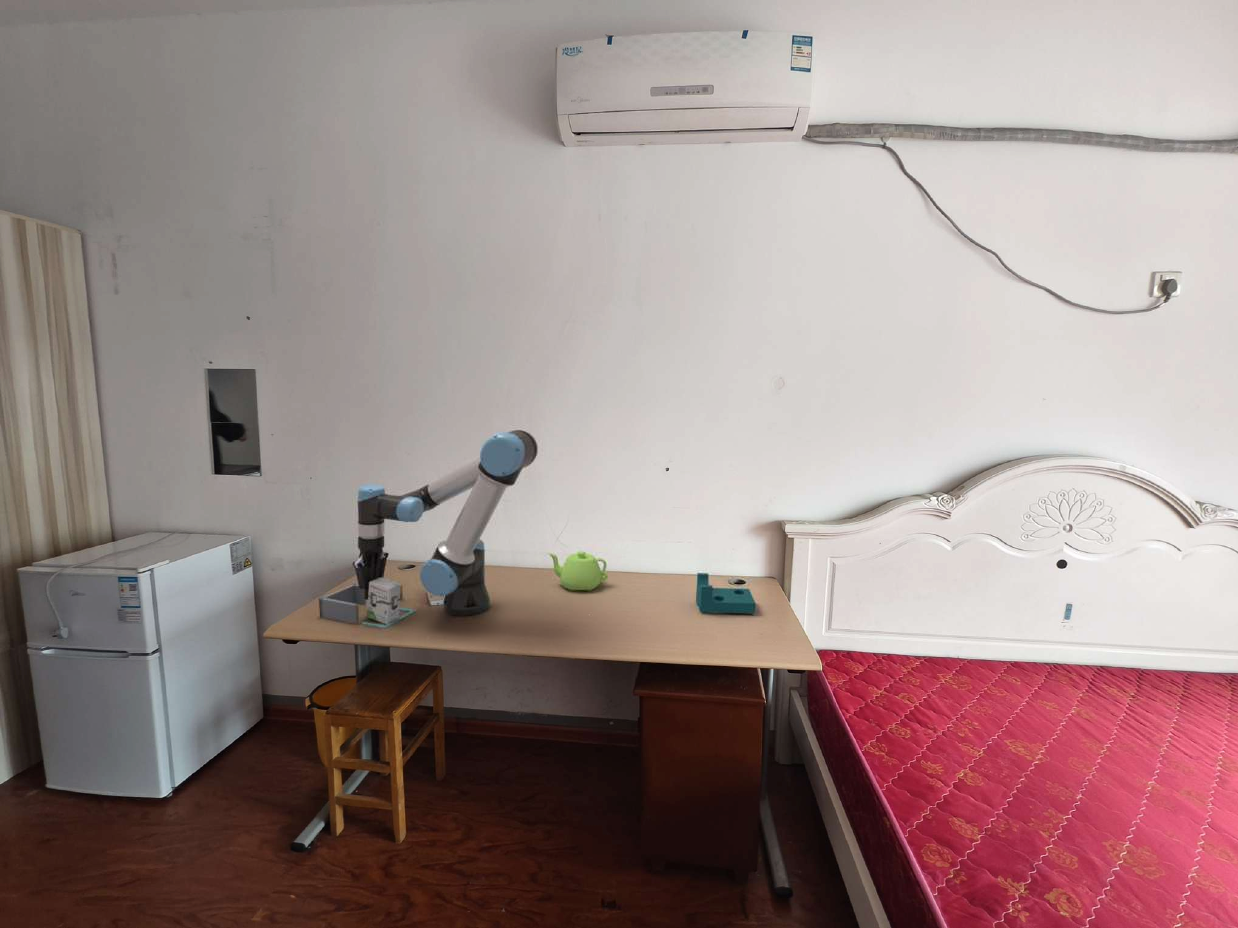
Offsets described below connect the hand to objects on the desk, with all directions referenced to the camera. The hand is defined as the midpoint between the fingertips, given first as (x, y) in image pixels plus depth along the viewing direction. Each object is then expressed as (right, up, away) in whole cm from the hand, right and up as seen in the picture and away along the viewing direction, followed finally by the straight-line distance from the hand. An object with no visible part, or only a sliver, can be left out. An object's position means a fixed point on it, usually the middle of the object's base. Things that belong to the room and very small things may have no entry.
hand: (371, 607), depth 180 cm
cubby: (-6, -2, +3) cm, 7 cm away
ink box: (+5, -3, -3) cm, 6 cm away
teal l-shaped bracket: (+114, -4, +13) cm, 115 cm away
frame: (+6, -3, -1) cm, 7 cm away
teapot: (+63, 0, +30) cm, 70 cm away
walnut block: (+2, -1, +13) cm, 13 cm away
